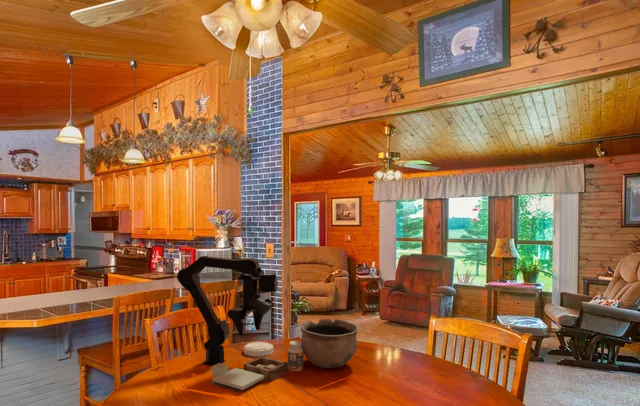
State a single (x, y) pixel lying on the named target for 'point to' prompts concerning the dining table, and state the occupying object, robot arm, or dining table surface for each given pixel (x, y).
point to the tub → (268, 374)
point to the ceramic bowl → (329, 342)
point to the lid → (234, 376)
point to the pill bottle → (295, 356)
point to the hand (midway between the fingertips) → (249, 332)
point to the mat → (225, 386)
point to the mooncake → (258, 349)
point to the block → (270, 367)
